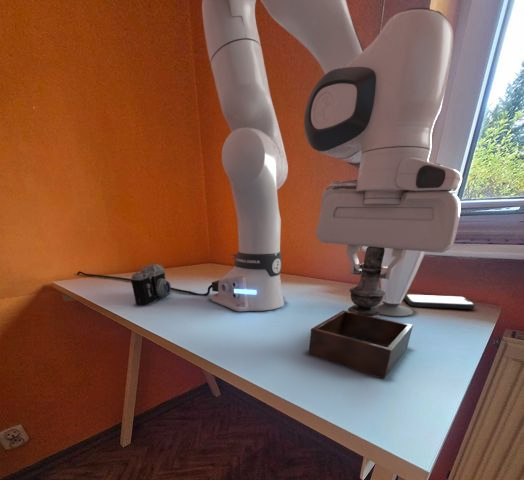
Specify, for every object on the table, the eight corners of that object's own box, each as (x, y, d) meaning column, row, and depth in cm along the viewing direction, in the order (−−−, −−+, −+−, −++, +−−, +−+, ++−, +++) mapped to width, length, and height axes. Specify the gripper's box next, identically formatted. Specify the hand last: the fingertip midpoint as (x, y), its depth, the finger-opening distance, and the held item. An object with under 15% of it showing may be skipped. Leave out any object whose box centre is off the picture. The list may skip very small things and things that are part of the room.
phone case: (410, 307, 76) (475, 310, 73) (411, 301, 76) (477, 304, 72) (403, 299, 84) (462, 301, 81) (404, 293, 83) (463, 296, 80)
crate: (308, 353, 50) (310, 328, 48) (340, 331, 60) (343, 310, 57) (384, 379, 43) (391, 350, 40) (406, 349, 52) (413, 324, 50)
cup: (416, 319, 67) (442, 222, 58) (367, 314, 70) (384, 222, 61) (409, 305, 77) (431, 221, 67) (367, 302, 80) (381, 221, 71)
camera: (155, 307, 76) (149, 270, 71) (133, 305, 77) (125, 269, 72) (178, 293, 89) (174, 261, 84) (159, 292, 90) (153, 261, 85)
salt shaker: (358, 318, 45) (373, 239, 39) (340, 307, 50) (350, 236, 44) (388, 315, 46) (406, 239, 41) (367, 305, 51) (381, 236, 46)
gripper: (314, 179, 43) (306, 270, 49) (472, 171, 31) (435, 290, 37) (332, 183, 47) (322, 265, 53) (476, 176, 36) (442, 282, 42)
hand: (370, 276), depth 45 cm, fingers closed on salt shaker, 3 cm apart
